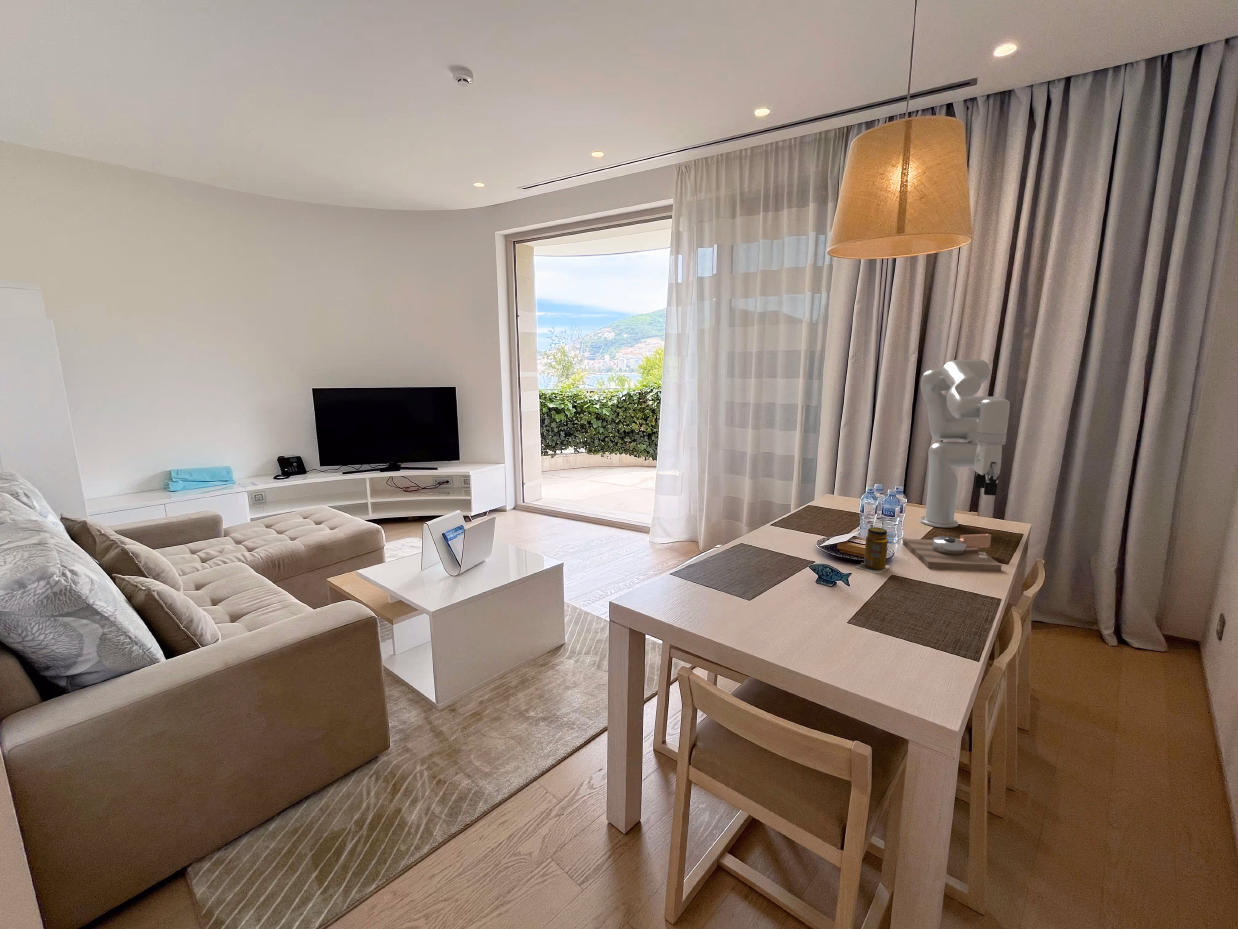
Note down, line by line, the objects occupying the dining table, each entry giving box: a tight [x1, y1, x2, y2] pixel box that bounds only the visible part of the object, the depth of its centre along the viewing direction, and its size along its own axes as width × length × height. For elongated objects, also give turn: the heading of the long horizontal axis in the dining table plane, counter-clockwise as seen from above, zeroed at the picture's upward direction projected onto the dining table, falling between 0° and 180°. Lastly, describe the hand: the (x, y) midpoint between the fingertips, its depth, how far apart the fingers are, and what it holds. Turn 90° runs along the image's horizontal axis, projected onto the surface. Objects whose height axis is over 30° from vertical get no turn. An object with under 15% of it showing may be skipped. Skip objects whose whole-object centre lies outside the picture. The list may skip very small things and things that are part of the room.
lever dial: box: [932, 533, 992, 555], centre depth 170 cm, size 18×9×4 cm, turn 95°
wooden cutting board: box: [902, 538, 1003, 572], centre depth 170 cm, size 22×20×2 cm
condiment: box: [855, 526, 891, 575], centre depth 162 cm, size 7×8×12 cm
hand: (984, 491), depth 170 cm, fingers open, 9 cm apart
